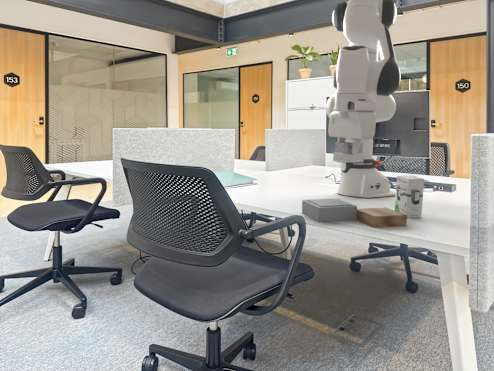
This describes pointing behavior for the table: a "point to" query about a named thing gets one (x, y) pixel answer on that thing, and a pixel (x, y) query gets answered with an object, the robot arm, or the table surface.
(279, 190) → the table surface
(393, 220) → the walnut stand
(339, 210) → the grey riser
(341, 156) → the housing
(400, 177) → the ink box
